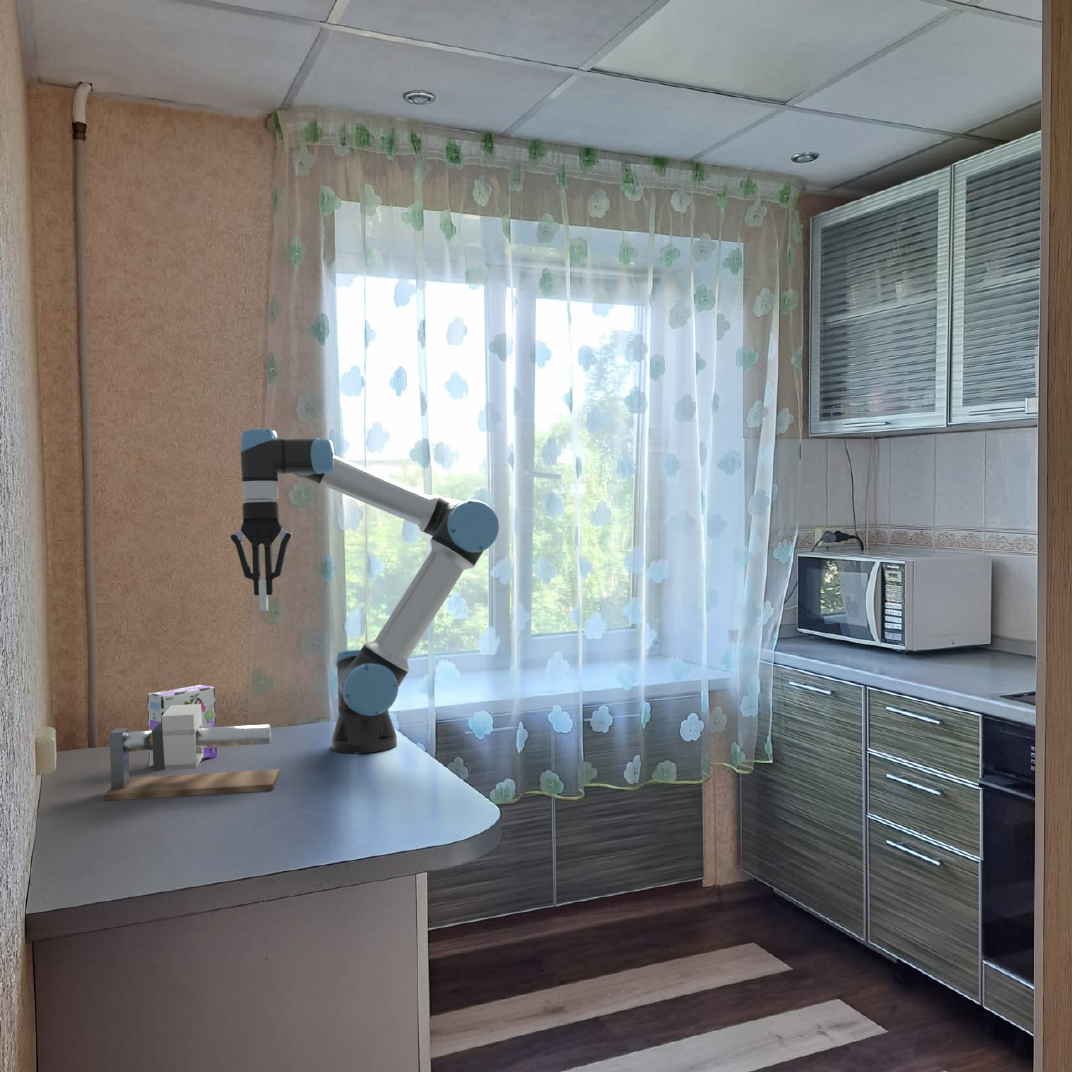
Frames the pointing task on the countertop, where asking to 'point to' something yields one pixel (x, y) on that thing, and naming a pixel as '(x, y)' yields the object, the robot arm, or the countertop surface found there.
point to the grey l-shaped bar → (205, 738)
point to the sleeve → (181, 736)
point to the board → (195, 784)
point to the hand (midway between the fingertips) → (263, 610)
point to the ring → (158, 747)
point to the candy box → (183, 696)
